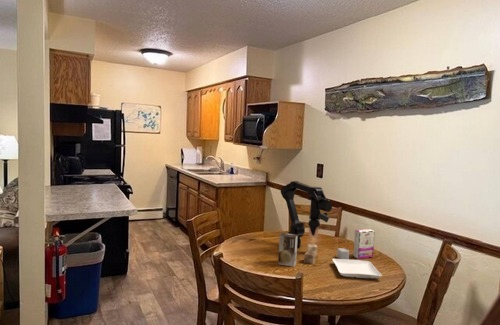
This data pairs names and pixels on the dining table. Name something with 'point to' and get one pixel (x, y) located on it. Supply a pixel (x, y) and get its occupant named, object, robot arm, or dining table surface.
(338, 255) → the light gray block
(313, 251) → the maple block
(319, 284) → the dining table surface
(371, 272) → the salad plate
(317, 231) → the terracotta block
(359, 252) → the candy bar box
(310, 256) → the walnut block
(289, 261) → the coffee box
